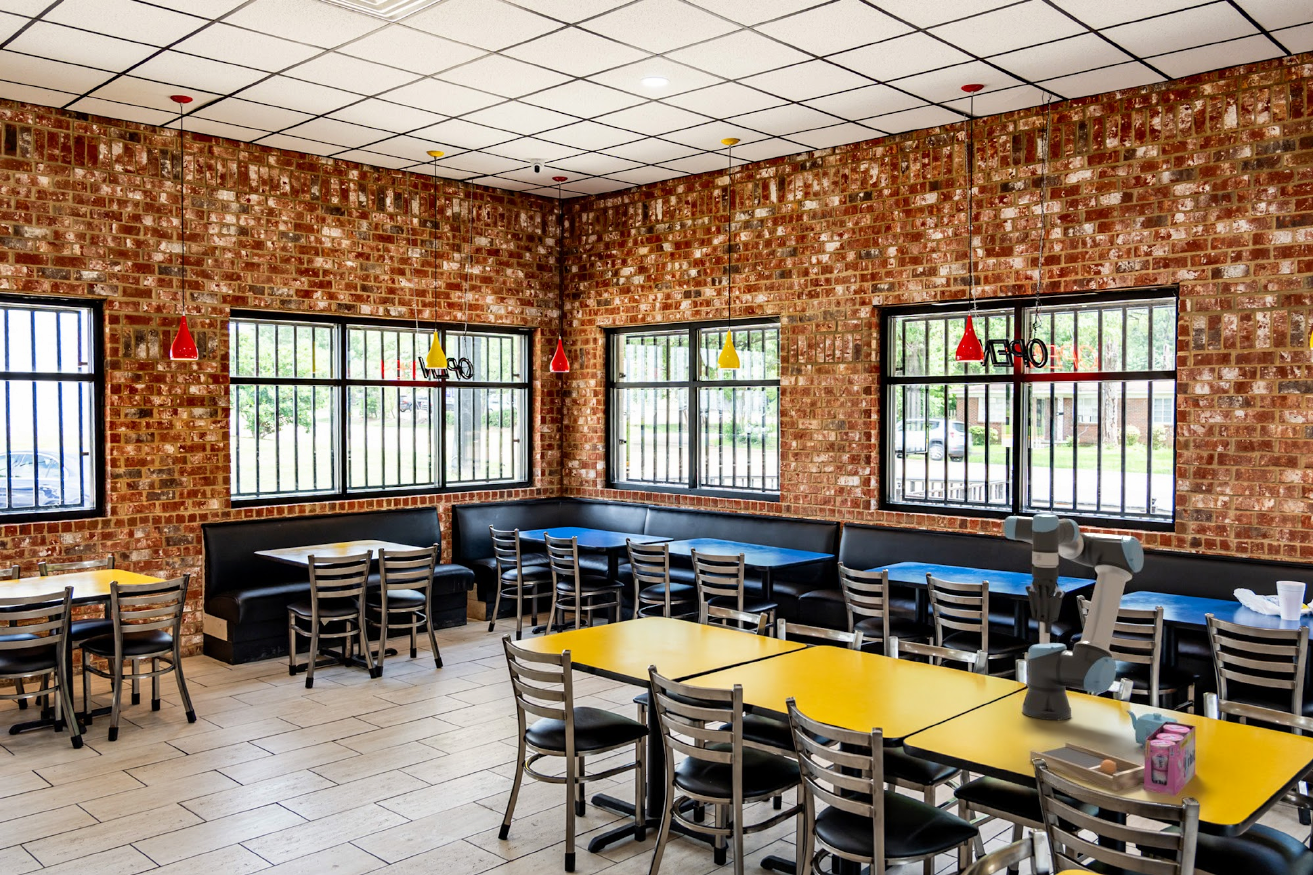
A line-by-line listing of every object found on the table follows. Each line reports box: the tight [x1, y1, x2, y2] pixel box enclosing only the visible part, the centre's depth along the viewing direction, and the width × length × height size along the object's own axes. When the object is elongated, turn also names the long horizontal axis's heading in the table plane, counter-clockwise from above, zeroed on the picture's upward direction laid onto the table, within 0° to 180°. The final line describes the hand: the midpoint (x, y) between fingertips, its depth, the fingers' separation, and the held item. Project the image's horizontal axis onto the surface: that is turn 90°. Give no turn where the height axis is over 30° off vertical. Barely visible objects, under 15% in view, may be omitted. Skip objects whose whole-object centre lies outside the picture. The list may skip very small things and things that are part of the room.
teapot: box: [1125, 710, 1178, 749], centre depth 302 cm, size 18×14×10 cm
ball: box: [1101, 760, 1117, 775], centre depth 278 cm, size 4×4×4 cm
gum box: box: [1143, 721, 1196, 797], centre depth 274 cm, size 24×8×14 cm, turn 140°
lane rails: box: [1029, 741, 1145, 792], centre depth 282 cm, size 16×27×4 cm, turn 31°
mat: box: [1040, 746, 1124, 776], centre depth 283 cm, size 14×26×2 cm, turn 31°
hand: (1044, 643), depth 310 cm, fingers closed
